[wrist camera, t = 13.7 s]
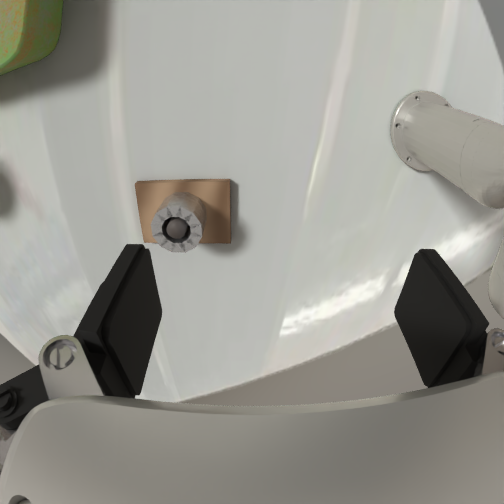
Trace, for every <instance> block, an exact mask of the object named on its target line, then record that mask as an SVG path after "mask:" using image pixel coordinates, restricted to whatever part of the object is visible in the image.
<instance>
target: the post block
mask: <svg viewBox="0 0 504 504" xmlns="http://www.w3.org/2000/svg"><path fill="white" fill-rule="evenodd" d="M135 189H136V196H137V203H138V210H139V216H140V222H141V228H142V234H143V239H144V243H157V241H156V240H155V239H154V237H153V236H152V229H151V222H152V220H153V218H154V216H155V214H156V212H157V210H158V209H159V207H160V205H161V204H162V202H163V201H164V199H165V198H166V197H168V196H170V195H171V194H173V193H175V192H189V193H191V194H192V195H194V196H196V197H198V198H200V200H201V201H202V203H203V204H204V206H205V207H206V215H207V221H206V224H205V228H204V231H203V235H202V238H201V239H200V241H199V243H231V212H230V179H184V180H153V181H137V182H136V183H135ZM187 226H189V224H188V223H187V222H186V220H184V219H182V218H180V217H171V220H170V222H169V224H168V226H167V233H168V235H169V236H171V237H172V238H175V239H179V238H181V237H183V236H184V234H185V232H186V229H187Z"/></svg>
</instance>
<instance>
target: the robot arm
mask: <svg viewBox="0 0 504 504" xmlns="http://www.w3.org/2000/svg"><path fill="white" fill-rule="evenodd" d="M415 97H416V99H415ZM396 124H397V126H395V125H396ZM391 139H392V143H393V146H394V149H395V151H396V152H397V154H398V156H399V157H400V158H401V159H402V160H403V161H404V162H405V163H406V164H407V165H409V166H411V167H412V168H414V169H417V170H421V171H431V170H434V171H436V172H437V173H439V174H440V175H442V176H443V177H445V178H446V179H447V180H449V181H450V182H452V183H453V184H454V185H456V186H457V187H458V188H460V189H461V190H463V191H464V192H465V193H467V194H468V195H469V196H471V197H472V198H473V199H475V200H476V201H477V202H479V203H480V204H482V205H484V206H486V207H489V208H495V209H500V208H504V125H501V124H498V123H496V122H493V121H490V120H488V119H485V118H482V117H479V116H476V115H473V114H470V113H467V112H464V111H461V110H458V109H454V108H452V107H451V105H450V104H449V103H448V102H447V101H446V100H445V99H444V98H443V97H441V96H440V95H438V94H435V93H433V92H428V91H418V92H414V93H411V94H409V95H408V96H406V97H405V98H403V99H402V101H401V102H400V103H399V104H398V105H397V107H396V109H395V111H394V113H393V116H392V120H391ZM407 157H408V158H407ZM488 294H489V299H490V301H491V303H492V305H493V307H494V308H495V310H496V311H497V313H498V314H499V315H500V316H501V317H502V318H503V319H504V237H503V240H502V243H501V246H500V248H499V251H498V254H497V257H496V259H495V263H494V265H493V268H492V271H491V274H490V278H489V283H488ZM394 314H395V318H396V320H397V322H398V324H399V326H400V329H401V331H402V333H403V335H404V337H405V340H406V342H407V344H408V347H409V349H410V351H411V354H412V356H413V358H414V361H415V363H416V366H417V368H418V370H419V373H420V376H421V378H422V381H423V383H424V385H425V386H428V388H427V389H422V390H417V391H412V392H407V393H401V394H395V395H389V396H382V397H376V398H369V399H361V400H353V401H344V402H333V403H323V404H307V405H288V406H219V405H199V404H185V403H172V402H161V401H151V400H142V399H135V395H140V393H141V390H142V386H143V382H144V378H145V374H146V370H147V367H148V363H149V359H150V356H151V352H152V348H153V345H154V341H155V338H156V334H157V331H158V328H159V324H160V321H161V317H162V307H161V303H160V298H159V294H158V289H157V285H156V280H155V275H154V270H153V265H152V260H151V254H150V251H149V249H145V247H144V245H143V244H127V245H126V246H125V247H124V249H123V251H122V252H121V254H120V256H119V257H118V259H117V261H116V262H115V264H114V266H113V267H112V269H111V271H110V272H109V274H108V276H107V278H106V279H105V281H104V282H103V283H102V284H101V285H100V287H99V289H98V291H97V293H96V294H95V296H94V298H93V300H92V302H91V303H90V305H89V307H88V309H87V311H86V313H85V315H84V317H83V318H82V320H81V322H80V324H79V326H78V328H77V330H76V332H75V334H74V336H69V335H60V336H57V337H54V338H53V339H51V340H49V341H48V342H47V343H46V344H45V345H44V346H43V347H42V349H41V351H40V354H39V365H37V366H35V367H33V368H32V369H30V370H28V371H26V372H24V373H22V374H20V375H18V376H16V377H15V378H13V379H11V380H9V381H7V382H5V383H3V384H1V385H0V504H504V330H502V329H499V328H494V329H491V330H490V331H489V332H488V334H487V333H486V331H485V330H486V328H487V327H488V325H489V322H488V321H487V319H486V318H485V316H484V315H483V313H482V312H481V310H480V309H479V308H478V306H477V304H476V303H475V302H474V300H473V299H472V297H471V296H470V294H469V293H468V292H467V290H466V289H465V288H464V286H463V285H462V283H461V282H460V281H459V279H458V278H457V277H456V275H455V274H454V273H453V272H452V270H451V269H450V268H449V266H448V265H447V264H446V263H445V261H444V260H443V259H442V258H441V256H440V255H439V254H438V253H437V251H436V250H434V249H420V250H419V251H418V253H416V254H415V255H414V258H413V261H412V264H411V266H410V269H409V272H408V275H407V278H406V280H405V283H404V286H403V288H402V291H401V294H400V296H399V299H398V301H397V304H396V306H395V311H394Z"/></svg>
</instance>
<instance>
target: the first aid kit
mask: <svg viewBox="0 0 504 504" xmlns="http://www.w3.org/2000/svg"><path fill="white" fill-rule="evenodd" d="M62 8H63V0H0V76H1V75H3V74H5V73H8V72H10V71H13V70H15V69H17V68H20V67H23V66H25V65H28V64H31V63H33V62H36V61H39V60H41V59H43V58H44V57H46V56H48V55H49V54H50V53H51V52H52V51H53V50H54V49H55V47H56V45H57V42H58V40H59V35H60V31H61V20H62Z"/></svg>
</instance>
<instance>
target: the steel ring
mask: <svg viewBox="0 0 504 504" xmlns="http://www.w3.org/2000/svg"><path fill="white" fill-rule="evenodd" d="M171 217H180V218H182V219H184V220H186V222H187V223H188V224H189V226H187V229H186V232H185V234H184V236H183V237H181V238H179V239H175V238H172V237H171V236H169V235H168V233H167V226H168V224H169V222H170V220H171ZM206 221H207V215H206V207H205V206H204V204H203V203H202V201H201V200H200V198H198V197H196V196H194V195H192V194H191V193H189V192H175V193H173V194H171V195H170V196H168V197H166V198H165V199H164V201H163V202H162V204H161V205H160V207H159V209H158V210H157V212H156V214H155V216H154V218H153V220H152V222H151V229H152V236H153V237H154V239H155V240H156V241H157V243H158V244H159V245H160V246H161V247H163V248H165V249H167V250H169V251H171V252H187V251H189V250H191V249H193V248H195V247H196V246H197V244H198V243H199V241H200V239H201V238H202V235H203V231H204V228H205V224H206Z"/></svg>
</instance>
